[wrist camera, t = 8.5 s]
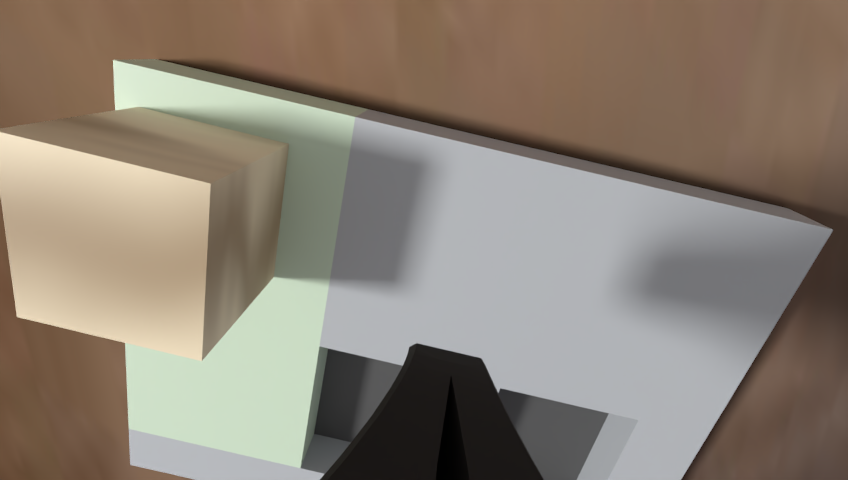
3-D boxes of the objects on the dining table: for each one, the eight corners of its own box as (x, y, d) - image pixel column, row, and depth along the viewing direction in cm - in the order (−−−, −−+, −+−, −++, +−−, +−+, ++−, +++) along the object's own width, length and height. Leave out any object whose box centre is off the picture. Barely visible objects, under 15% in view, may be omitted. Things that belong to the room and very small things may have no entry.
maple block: (273, 277, 15) (201, 361, 11) (140, 244, 15) (16, 316, 11) (288, 143, 13) (210, 183, 9) (138, 106, 13) (-9, 130, 9)
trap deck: (607, 531, 21) (621, 577, 19) (159, 428, 21) (130, 464, 19) (787, 208, 15) (833, 229, 13) (156, 59, 15) (113, 59, 13)
